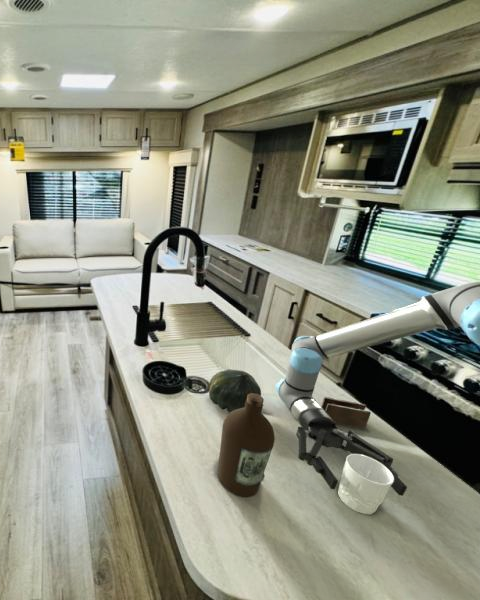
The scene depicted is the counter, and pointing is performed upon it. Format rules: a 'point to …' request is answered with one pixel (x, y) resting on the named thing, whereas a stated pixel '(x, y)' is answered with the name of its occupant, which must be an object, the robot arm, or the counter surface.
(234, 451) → the olive oil
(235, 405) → the squash
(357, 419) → the holder
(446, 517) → the counter surface
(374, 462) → the white cup
